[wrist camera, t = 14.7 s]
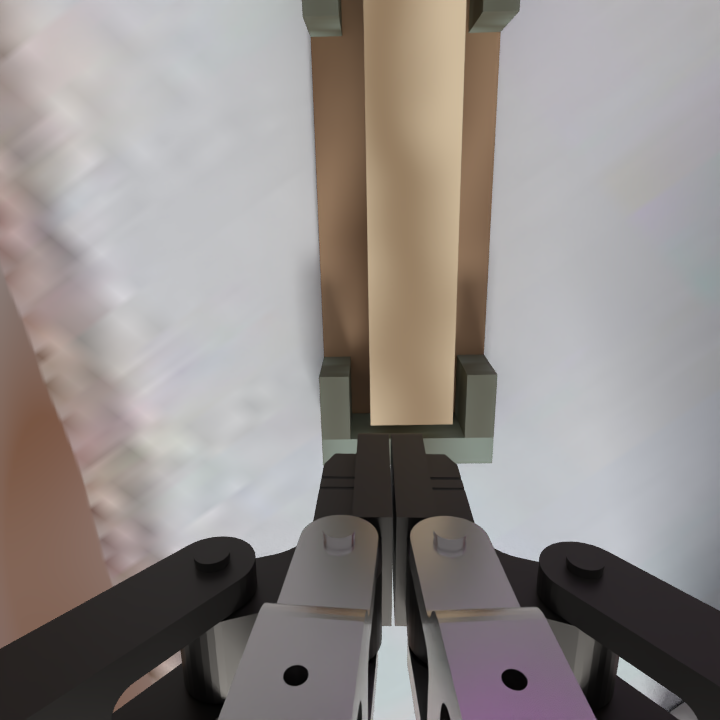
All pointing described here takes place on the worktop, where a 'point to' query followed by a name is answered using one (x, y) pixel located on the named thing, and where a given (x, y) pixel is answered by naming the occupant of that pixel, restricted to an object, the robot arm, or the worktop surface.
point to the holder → (349, 231)
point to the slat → (413, 204)
